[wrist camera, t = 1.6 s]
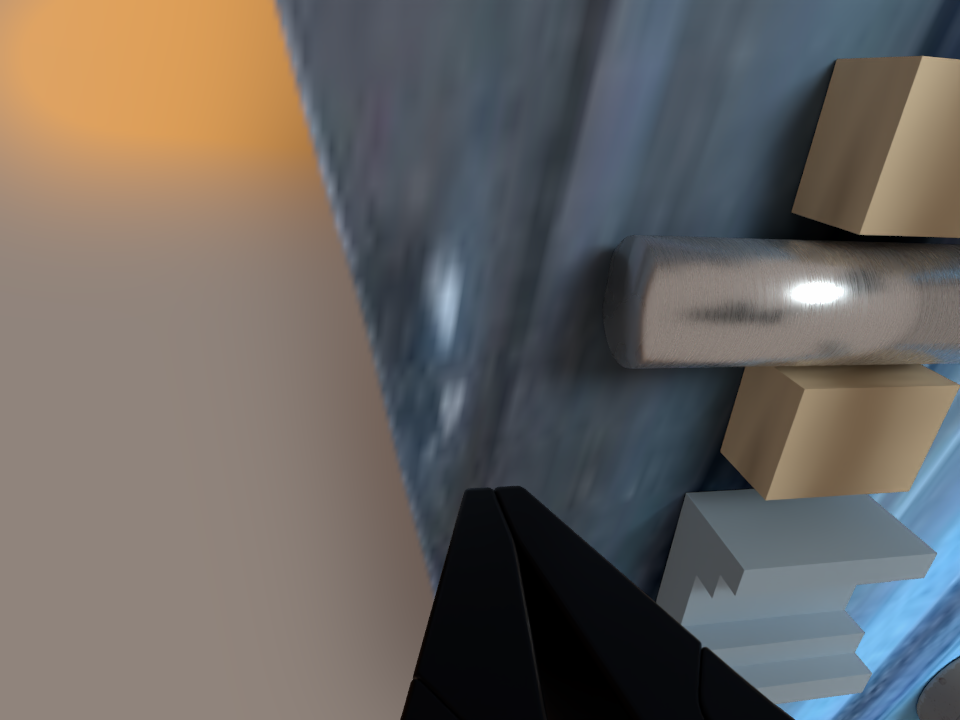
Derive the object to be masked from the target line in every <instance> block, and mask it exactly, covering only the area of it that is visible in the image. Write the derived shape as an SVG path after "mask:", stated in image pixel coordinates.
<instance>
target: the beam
mask: <svg viewBox="0 0 960 720" xmlns="http://www.w3.org/2000/svg"><path fill="white" fill-rule="evenodd" d="M791 213H794V214H797V215H800V216H804V217H807V218H810V219H813V220H816V221H819V222H822V223H825V224H828V225H831V226H834V227H837V228H840V229H843V230H847V231H850V232H853V233H856V234H859V235H885V236H918V237H951V238H960V60H958V59H948V58H938V57H927V56H910V57H881V58H853V59H837V60H836V64H835V67H834V71H833V74H832V77H831V81H830V84H829V87H828V91H827V94H826V97H825V101H824V104H823V108H822V111H821V114H820V118H819V121H818V124H817V128H816V131H815V134H814V138H813V141H812V144H811V148H810V151H809V155H808V158H807V161H806V165H805V168H804V171H803V175H802V178H801V181H800V185H799V188H798V192H797V195H796V198H795V202H794V205H793V208H792V212H791ZM959 387H960V385H959V384H957V383H955V382H953V381H951V380H949V379H947V378H945V377H943V376H942V375H940V374H938V373H936V372H934V371H932V370H930V369H928V368H926V367H924V366H923V365H921V364H887V365H825V366H762V367H745V370H744V373H743V376H742V380H741V383H740V387H739V390H738V393H737V397H736V400H735V403H734V407H733V410H732V413H731V417H730V420H729V424H728V427H727V430H726V434H725V437H724V440H723V444H722V447H721V450H720V452H721V453H722V454H723V455H724V456H725V457H726V459H727V460H728V461H729V462H730V463H731V464H732V465H733V466H734V467H735V468H736V469H737V470H738V471H739V473H740V474H741V475H742V476H743V477H744V478H745V479H746V480H747V481H748V482H749V483H750V484H751V485H752V487H753V488H754V489H755V490H756V491H757V492H758V493H759V494H760V495H761V496H762V497H763V498H764V499H765V500H781V499H796V498H812V497H828V496H843V495H859V494H875V493H891V492H906V491H909V490H910V488H911V486H912V484H913V482H914V480H915V478H916V476H917V474H918V472H919V470H920V468H921V465H922V463H923V461H924V459H925V457H926V455H927V453H928V451H929V449H930V447H931V445H932V443H933V441H934V439H935V437H936V435H937V432H938V430H939V428H940V426H941V424H942V422H943V420H944V418H945V416H946V414H947V412H948V410H949V408H950V406H951V404H952V402H953V399H954V397H955V395H956V393H957V391H958V389H959Z"/></svg>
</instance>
